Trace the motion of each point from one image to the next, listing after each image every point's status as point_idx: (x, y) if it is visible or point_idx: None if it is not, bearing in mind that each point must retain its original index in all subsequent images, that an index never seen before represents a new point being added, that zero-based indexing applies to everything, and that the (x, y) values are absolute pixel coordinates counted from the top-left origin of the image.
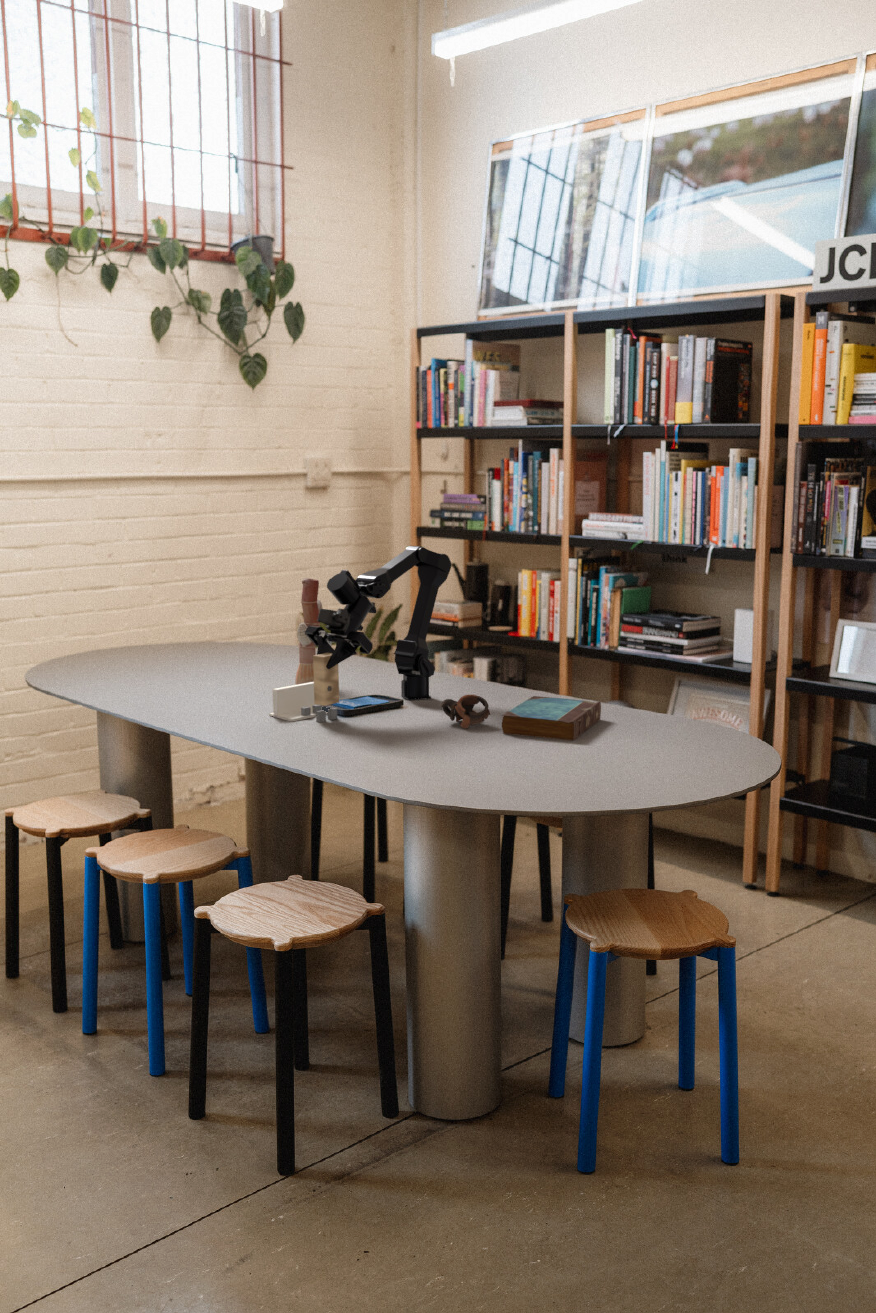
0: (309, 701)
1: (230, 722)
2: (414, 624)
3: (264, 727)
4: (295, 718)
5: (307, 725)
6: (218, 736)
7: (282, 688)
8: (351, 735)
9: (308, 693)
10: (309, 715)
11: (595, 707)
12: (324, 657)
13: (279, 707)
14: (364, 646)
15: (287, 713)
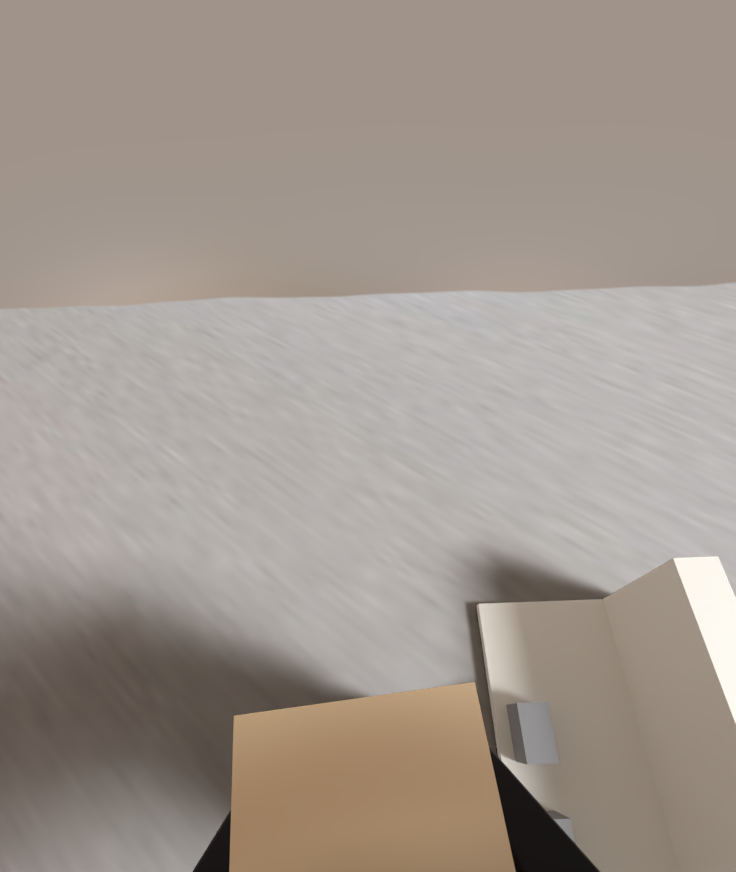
0: None
1: (617, 414)
2: None
3: (455, 458)
4: (482, 627)
5: (359, 614)
6: (439, 304)
7: (709, 621)
8: (45, 644)
9: None
10: (501, 740)
11: None
12: (234, 746)
13: (624, 606)
14: None
15: (620, 671)
